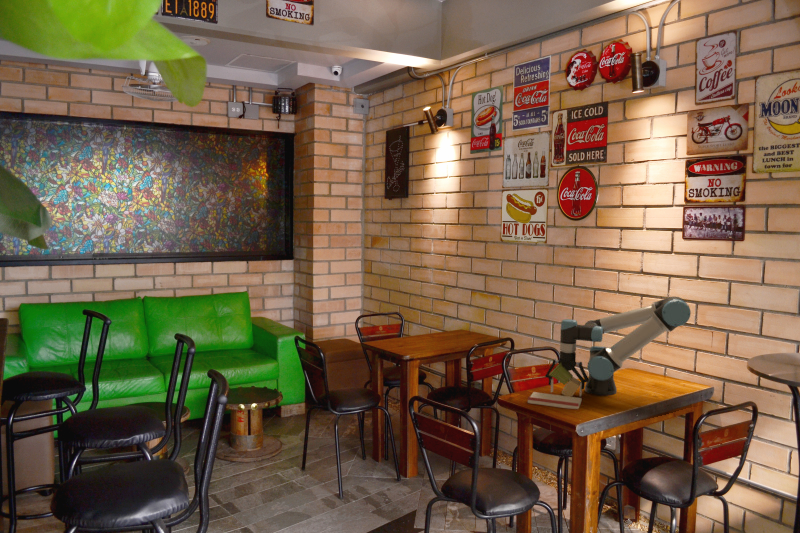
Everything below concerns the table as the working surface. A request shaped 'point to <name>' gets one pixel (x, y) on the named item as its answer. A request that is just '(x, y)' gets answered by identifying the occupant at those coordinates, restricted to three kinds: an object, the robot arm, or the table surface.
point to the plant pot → (561, 374)
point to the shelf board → (555, 400)
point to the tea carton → (571, 387)
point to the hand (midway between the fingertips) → (566, 393)
